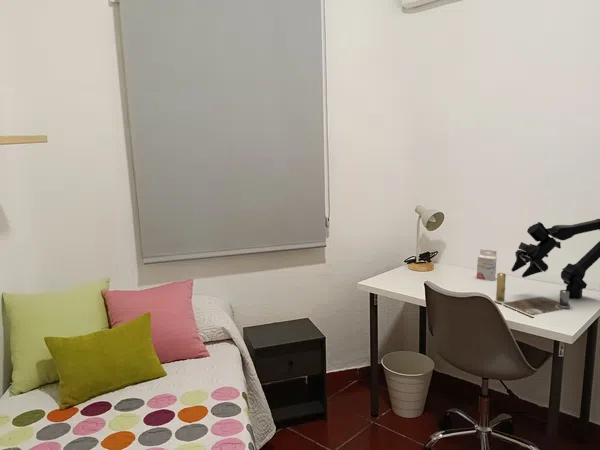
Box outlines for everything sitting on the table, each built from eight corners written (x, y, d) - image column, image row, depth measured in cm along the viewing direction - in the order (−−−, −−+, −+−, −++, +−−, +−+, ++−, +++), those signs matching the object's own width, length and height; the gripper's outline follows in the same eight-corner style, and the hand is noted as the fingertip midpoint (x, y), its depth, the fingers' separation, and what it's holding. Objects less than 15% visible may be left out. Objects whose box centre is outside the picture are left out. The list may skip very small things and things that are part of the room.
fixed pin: (563, 304, 208) (564, 288, 207) (572, 308, 204) (574, 292, 202) (554, 306, 206) (555, 290, 205) (564, 309, 202) (565, 293, 201)
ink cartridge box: (476, 278, 253) (477, 250, 250) (478, 276, 257) (479, 248, 254) (493, 280, 248) (495, 252, 246) (495, 278, 252) (497, 250, 250)
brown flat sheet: (542, 299, 219) (542, 296, 219) (575, 311, 203) (575, 308, 203) (503, 305, 212) (503, 303, 212) (534, 319, 196) (534, 316, 196)
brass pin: (500, 300, 219) (501, 272, 217) (508, 303, 215) (509, 274, 212) (491, 301, 218) (493, 273, 215) (499, 304, 213) (501, 276, 211)
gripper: (520, 232, 221) (495, 256, 222) (543, 240, 202) (515, 267, 204) (536, 248, 223) (511, 272, 224) (560, 258, 204) (532, 284, 206)
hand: (517, 273), depth 214 cm, fingers open, 9 cm apart
